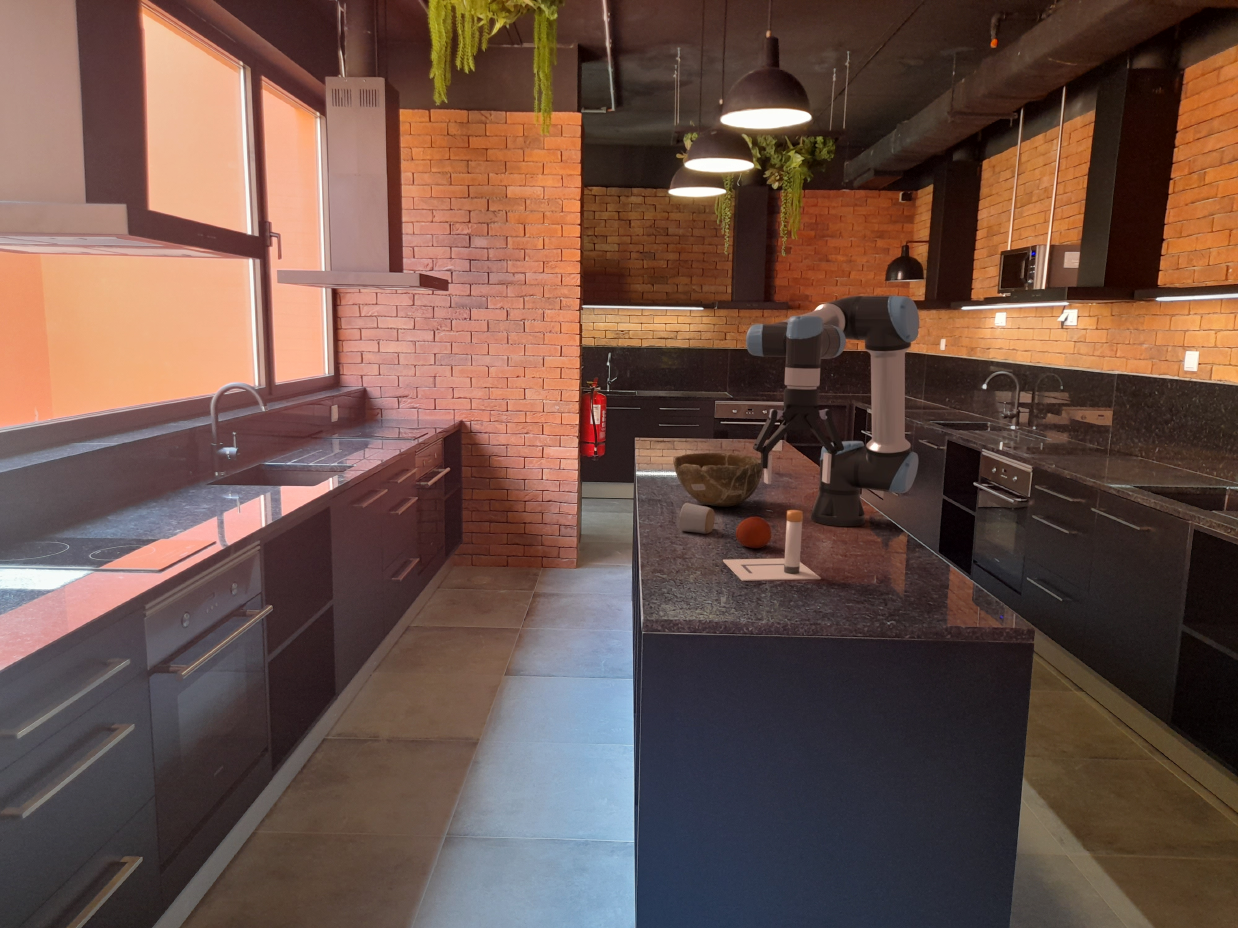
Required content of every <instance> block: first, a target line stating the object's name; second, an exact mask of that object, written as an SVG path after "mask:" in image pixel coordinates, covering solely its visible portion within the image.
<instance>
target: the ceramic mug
mask: <svg viewBox="0 0 1238 928" xmlns="http://www.w3.org/2000/svg"><path fill="white" fill-rule="evenodd" d="M715 514H716V513H715V510H714V509H713V508H711V507H708V506H705V505H704V506H703V505H699V504H694V503H689V502H685V503H684V504H683V505H682V507H681V509H680V512H679V521H678V523H679V529H680V531H681V532H687V533H689V532H690V533H697V534H704V535H705V534H707V535H708V534H710V533H711V532H712V531H713V528H714V525H715V518H716V515H715Z"/></svg>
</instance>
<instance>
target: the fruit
mask: <svg viewBox="0 0 1238 928" xmlns="http://www.w3.org/2000/svg"><path fill="white" fill-rule="evenodd" d="M771 530H772V528H771V526H770V524H769V522H768V521H766V520H765V519H763V518H762V517H761V516H756V515H755V516H750V517H747V518H746V519H745V518H744V520H742V521H741V522H739V524H738V525H737V527H736V531H735V537H736V539H737V541H738V542H739V543H740V544H741V545H742V546H743V547H746V548H751V549H761V548H763V547H765V546H767V545H768V543H770V541H771V539H772V531H771Z"/></svg>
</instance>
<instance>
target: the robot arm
mask: <svg viewBox="0 0 1238 928" xmlns="http://www.w3.org/2000/svg"><path fill="white" fill-rule="evenodd" d="M919 329H920V314H919V311H918V307H917V305H916V303H915V301H914V300H913V299H912V298H911V297H908V296H904V295H895V294H893V295H853V296H847V297H842V298H840V299H838V298H837V299H835V300H833V301H829V302H825V303H822V304H820V305H818V306H817V307H816V308H815V309H814V310H813V311H811V312H810V311H809V312H807V313H804V314H800V315H793V316H790V317H789V318H788V319H787V318H786V319H784V320H781V321H778V322H774V323H767V324H766V323H760V324H759V323H757V324H755V323H754V324H753V325H751V326H750V327H749V329H748V330H747V334H746V338H745V341H746V342H745V345H746V349H747V351H748V353H749V354H750V355H752V356H755V357H756V356H757V357H762V358H764V357H771V358H773V357H774V358H775V357H777V358H785V366H784V367H785V369H784V385H785V386H786V387H785V388H784V390H783V407H782V410H778V409H773V408H770V409H769V410H768V413H767V414H768V415H767V419H766V421H765V423H764V425H763V427H762V429H761V430H760V432H759V434H758V436H757V439H756V440H755V441H754V443H753V445H752V450H754V451H756V452H759V453H760V461H761V468H763V470H764V471H763V472H764V474H763V483H765V484H767V485H772V473H773V471H772V470H773V469H772V468H773V467H772V465H773V454H771V451H772V450H773V449H774V448H775V447H776V446H777V445H778V444H779V442H780V441H781V439H783V438H784V437H785V435H786V434H787V433H789V432H790V431H791V430H793V431H799V430H804V431H808V430H810V431H811V432H812V433H813V434H814V436H815V437H816V438H817V440H818V441H819V443H820V444H821V445H822V448H821V452H820V457H819V479H818V480H819V481H818V494H817V497H816V499H815V502H814V504H813V506H812V510H811V512H810V513H811V514H810V519H811V521H813V522H815V523H818V524H822V525H826V526H834V527H857V526H862V525H864V524H865V522H866V515H865V510H864V506H863V502H862V499H861V489H862V490H863V489H865V490H871V491H878V492H885V493H889V494H892V493H897V494H904V493H907V492H908V491H909V490H911V488H912V486H913V483H915V478H916V476H917V473H918V467H919V455H918V453H916V452H914V451H911V447H912V445H911V442H909V441H908V439H906V437H905V436H906V435H905V434H906V431H905V429H906V428H905V427H906V424H905V423H906V422H905V421H906V420H905V418H906V417H905V416H906V415H905V414H906V412H905V411H906V410H905V409H906V405H905V404H906V403H905V401H906V396H905V395H906V394H905V393H906V389H905V387H906V386H905V385H906V380H905V378H906V372H905V371H906V368H905V367H906V366H905V365H906V361H905V360H906V357H905V356H906V353H907V352H908V351H909V349H911V347H912V342H915V341H916V340H917V338H918V336H919V334H920V333H919ZM847 340H849V341H864V349H865V351H866V352H867V353H868V354H870V381H871V382H870V384H871V385H870V388H871V390H870V394H871V396H870V397H871V399H870V400H871V439H870V440H869V441H868V442H867V443H866V447H865V444H864V442H863V441H861V440H847V441H846V440H845V441H844V440H843V441H842V439H841V437H840V435H839V432H838V429H837V427H836V425H835V423H834V420H833V411H832V410H831V409H828V408H824V409H822V410H819V402H820V400H819V398H820V389H819V388H817V387H820V384H821V383H820V382H821V381H820V379H821V363H822V359H823V360H824V359H825V360H831V359H834V358H836V357H838V356H840V355H841V354H842V353H843V351H844V350H845V349H846V343H847ZM780 417H782V419H783V422H782V423H781V424H780V425H779V427H778V428H777V430H776V431H775V432H774V433H773V434H772V435H771V433H772V430H773V428H774V427H775V425H776V423H777V421H778V420H779V419H780ZM819 417H820V418H821V419H822V420H823V424H824V426H825V428H826V430H827V433H828V434H829V437H830V440H829V439H828V437H827V436H826V434H825V433H824V432H823V431H822V429H821V427H820V426H819V424H818V423H817V420H818V419H819ZM770 435H771V437H770V438H769V436H770ZM768 438H769V439H768Z"/></svg>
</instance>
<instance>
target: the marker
mask: <svg viewBox="0 0 1238 928" xmlns="http://www.w3.org/2000/svg"><path fill="white" fill-rule="evenodd" d="M803 515H804V512H803V511H802V510H799V509H798V510H797V509H788V510H786V524H785V525H786V527H785V545H784V558H785V561H784V572H785V573H788V574H798V573H799V569H800V562H801V549H802V548H801V547H802V533H803V532H802V531H803Z"/></svg>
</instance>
